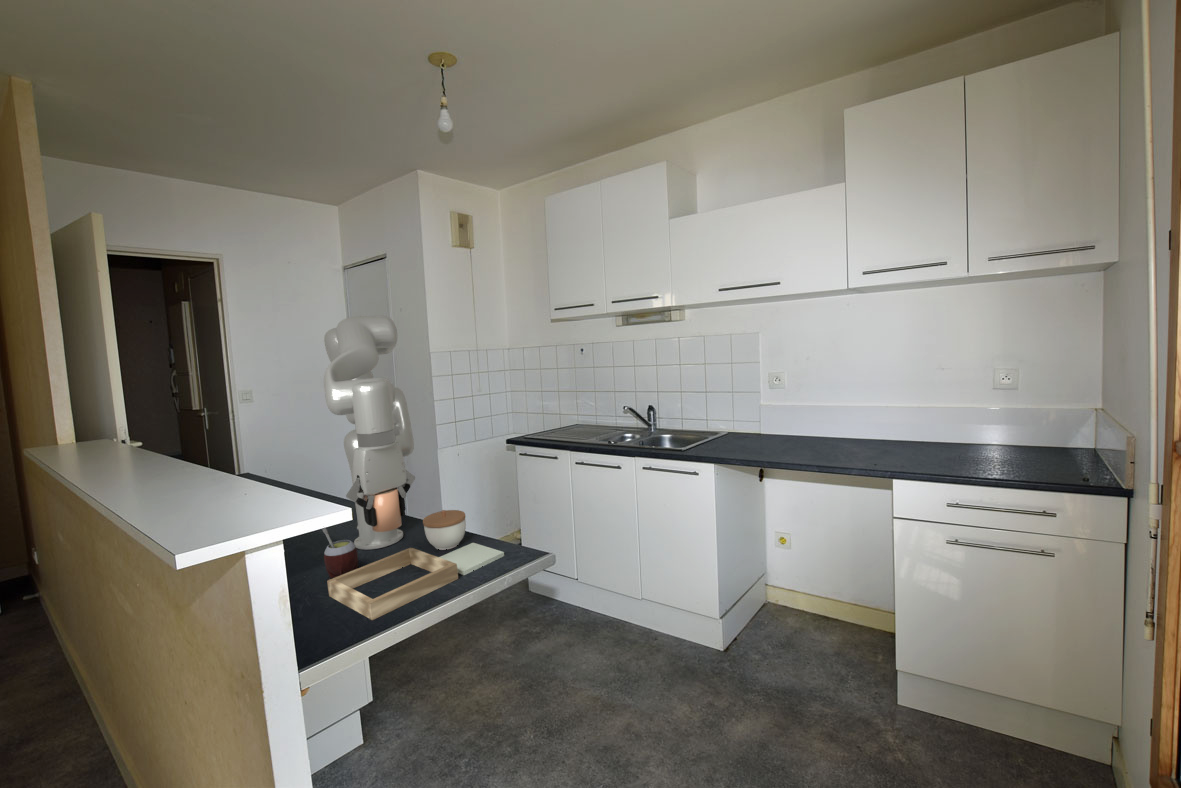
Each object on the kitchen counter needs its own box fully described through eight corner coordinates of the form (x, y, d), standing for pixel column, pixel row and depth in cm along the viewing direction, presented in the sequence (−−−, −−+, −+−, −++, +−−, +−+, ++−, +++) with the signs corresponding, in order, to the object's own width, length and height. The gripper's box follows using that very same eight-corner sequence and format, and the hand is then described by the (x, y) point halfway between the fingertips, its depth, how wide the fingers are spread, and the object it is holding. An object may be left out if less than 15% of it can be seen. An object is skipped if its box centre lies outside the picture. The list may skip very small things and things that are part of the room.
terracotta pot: (367, 528, 117) (362, 492, 116) (392, 519, 121) (388, 484, 120) (381, 533, 113) (377, 496, 112) (407, 524, 118) (402, 488, 116)
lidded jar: (457, 553, 134) (453, 517, 133) (418, 553, 137) (414, 517, 136) (474, 537, 145) (471, 503, 144) (438, 537, 147) (434, 504, 146)
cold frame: (329, 596, 116) (327, 580, 116) (412, 561, 132) (410, 547, 132) (372, 620, 105) (370, 603, 104) (458, 578, 120) (456, 563, 120)
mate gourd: (360, 567, 130) (352, 508, 129) (358, 580, 123) (350, 517, 121) (326, 574, 128) (318, 513, 126) (322, 588, 121) (313, 524, 119)
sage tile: (433, 563, 129) (433, 559, 129) (473, 546, 139) (472, 542, 138) (464, 575, 122) (463, 571, 122) (504, 555, 131) (503, 552, 131)
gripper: (403, 430, 124) (411, 505, 126) (327, 446, 110) (339, 530, 113) (421, 432, 119) (430, 510, 121) (345, 449, 106) (356, 537, 108)
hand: (386, 519), depth 117 cm, fingers closed on terracotta pot, 6 cm apart
